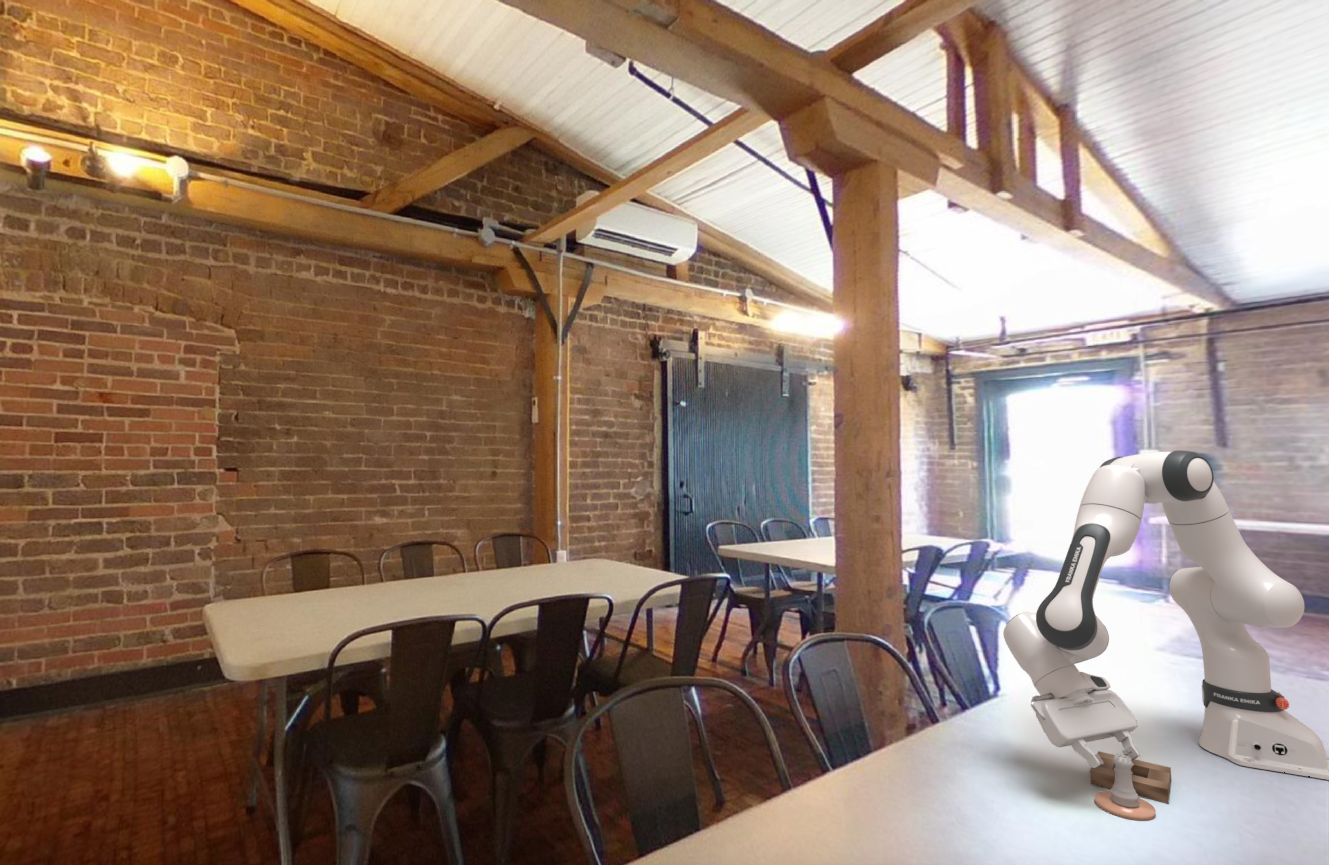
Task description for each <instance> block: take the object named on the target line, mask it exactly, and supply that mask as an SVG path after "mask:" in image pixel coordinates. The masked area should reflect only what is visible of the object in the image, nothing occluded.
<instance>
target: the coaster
mask: <svg viewBox="0 0 1329 865" xmlns="http://www.w3.org/2000/svg"><path fill="white" fill-rule="evenodd" d="M1111 795H1112V794H1111V793H1110V790H1108V791H1107V790H1106V791H1103V790H1102V791H1098V792H1097V793H1095V794H1094V803H1095V805H1096V804H1097V805H1096V806H1097V807H1098V806H1099V807H1098V808H1099V809H1101V808H1102V809H1101V810H1103V811H1104V810H1105V812H1106V813H1108V812H1109V813H1108V814H1111V815H1112V816H1116V817H1120V818H1123V819H1127V820H1131V821H1141V822H1143V821H1151V820H1154V819H1155V818H1156V816H1157V813H1156V812H1157V811H1156V807H1154V806H1153V805H1152V803H1150V802H1149V801H1146V800H1145V799H1143V798H1140V797H1139V799H1138V801H1139V803H1140V804H1139V805H1138V806H1137V807H1136V808H1128V807H1123V806H1120V805H1117V804H1115V803H1114V802H1113V801H1112V800H1111V798H1110V796H1111Z"/></svg>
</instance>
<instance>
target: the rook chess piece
mask: <svg viewBox="0 0 1329 865" xmlns="http://www.w3.org/2000/svg"><path fill="white" fill-rule="evenodd" d="M1113 755H1114V758H1113V759H1112V762H1113V763H1114V764H1115V768H1114V771H1115V782H1114V785H1113V788H1111V789H1110V790H1109V791H1110V793H1111V794H1112V795H1111V796H1110V798H1111V800H1112V801H1113V802H1114V803H1115V804H1117V805H1120V806H1123V807H1128V808H1136V807H1137V806H1138V805H1139V804H1140V803H1139V801H1138V799H1139V798H1140V796H1138V794H1137V793H1136V791H1135V789H1134V787H1133V783H1132V776H1131V774H1132V771H1131V767H1132V766H1133V765H1134V764H1133V763H1132V761H1131V758H1129V756H1125V755H1124V754H1123V753H1122V754H1121V753H1120V754H1117V753H1115V754H1113ZM1118 756H1120V757H1118ZM1124 757H1125V758H1124Z"/></svg>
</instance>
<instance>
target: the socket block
mask: <svg viewBox="0 0 1329 865" xmlns="http://www.w3.org/2000/svg"><path fill="white" fill-rule="evenodd" d="M1096 754H1098V755H1099V756H1100V757H1101V759H1102V760H1103V762H1104V764H1103V765H1102V766H1100V767H1097V768H1092V767H1091V766H1090V770H1089V771H1090V772H1089V777H1090V778H1089V779H1090V784H1091V785H1094V786H1097V785H1100V786H1099V787H1101V786H1103V787H1102V788H1105V789H1109V788H1110V789H1111V788H1113V785H1114V782H1115V771H1114V768H1115V764H1114V763H1113V762H1112V759H1113V758H1114V755H1115V754H1113V753H1107V752H1104V751H1097V753H1096ZM1118 757H1120V755H1118ZM1123 757H1124V758H1125V756H1123ZM1131 761H1132V763H1133V764H1134V765H1133V766H1132V767H1131V771H1132V774H1131V776H1132V783H1133V787H1134V789H1135V791H1136V793H1137V794H1138V797H1139V798H1140V797H1141V798H1144V799H1148V800H1154V801H1157V802H1161V803H1164V804H1169V802H1170V793H1171V787H1172V786H1171V785H1172V767H1171V766H1167V765H1161V764H1158V763H1152V762H1148V761H1143V760H1139V759H1134V760H1131Z"/></svg>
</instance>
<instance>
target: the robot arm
mask: <svg viewBox="0 0 1329 865" xmlns="http://www.w3.org/2000/svg"><path fill="white" fill-rule="evenodd" d="M1213 470H1214V469H1213V468H1212V466H1211V464H1210V463H1209V461H1208V459H1206V458H1205V457H1203V455H1201V454H1200V453H1198V452H1196V451H1195V452H1194V451H1191V450H1190V451H1189V450H1178V449H1177V450H1173V451H1147V452H1143V453H1138V454H1132V455H1127V456H1116V457H1113V458H1109V459H1108V460H1106V461H1104V462H1103V463H1102V464H1101V465H1100V466H1099V467H1098V468H1097V469H1096V470H1095V471H1094V473H1093V474H1092V476H1091V478H1090V480H1089V481H1088V484H1087V486H1086V487H1085V490H1084V492H1083V495H1082V498H1081V501H1080V505H1079V508H1078V511H1077V514H1076V519H1075V524H1074V530H1073V534H1072V538H1071V542H1070V544H1069V546H1068V549H1067V553H1066V556H1065V558H1064V561H1063V564H1062V566H1061V570H1060V573H1059V575H1058V578H1057V581H1056V584H1055V586H1054V587H1053V589H1052V590H1051V591H1050V592H1049V594H1048V595H1047V596H1046V597H1045V598H1044V599H1043V600H1042V601H1041V603H1040V604H1039V606H1038V607H1037V610H1036V612H1029V611H1023V612H1021V613H1018V614H1016V615H1015V616H1013V617H1012V618H1011V619H1010V620H1009V621H1008V622H1007V623H1006V625H1005V627H1004V629H1003V633H1002V634H1003V638H1004V641H1005V644H1006V645H1007V648H1008V649H1009V651H1010V653H1011V655H1012V657H1013V658H1014V659H1015V661H1016V662H1017V664H1018V665H1019V666H1020V668H1021V669H1022V670H1023V671H1024V672H1025V673H1026V674H1027V675H1028V676H1029V678H1030V679H1031V682H1032V685H1033V686H1034V688H1035V689H1036V692H1038V694H1039V695H1034V696H1032V698H1031V701H1030V706H1031V709H1032V710H1033V711H1034V712H1035V716H1036V719H1037V722H1038V723H1039V725H1040V726H1041V729H1042V731H1043V732H1044V734H1045V735H1046V737H1047V739H1048V741H1049V742H1050V743H1051V744H1052V745H1054V746H1055V747H1056V748H1063V747H1067V746H1069V747H1070V746H1071V748H1072V749H1073V750H1074V752H1075V753H1076V754H1078V755H1079V756H1081V757H1082V758H1083V759H1084V760H1086V762H1088V764H1089V765H1090V768H1091V767H1092V768H1097V767H1100V766H1102V765H1103V764H1104V762H1103V760H1102V759H1101V757H1100V756H1099V755H1098V754H1097V753H1094V752H1093V751H1092V750H1091V749H1090V748H1088V746H1087V745H1088V744H1087V743H1089V742H1094V741H1098V740H1104V739H1105V740H1106V739H1111V738H1115V739H1116V741H1117V742H1118V743H1121V745H1122V748H1123V750H1122V751H1121V752H1122V755H1123V756H1124V757H1125V756H1129V758H1131V760H1134V759H1135V760H1138V758H1139V757H1140V753H1139V752H1138V750H1137V749H1136V748H1135V745H1134V740H1133V738H1132V735H1131V732H1133V731H1135V730H1136V729H1137V728H1138V726H1139V725H1138V720H1137V718H1136V716H1135V715H1134V714H1133V712H1132V711H1131V710H1130V709H1129V707H1128V706H1127V705H1126V703H1125V702H1124V701H1123V700H1122V698H1121V697H1120V696H1119V695H1118V694H1117V693H1116V692H1115V691H1113V690H1110V688H1111V684H1110V683H1109V681H1108V680H1107V679H1106V678H1104V677H1102V676H1098V675H1093V674H1090V673H1087V672H1083V671H1080V670H1079V669H1078V668H1077V666H1076V664H1079V663H1082V662H1086V661H1088V660H1092V659H1094V658H1097V657H1099V656H1100V655H1102V654H1103V653H1105V651H1106V650H1107V648H1108V646H1109V642H1110V635H1109V631H1108V630H1107V627H1106V625H1105V624H1104V623H1103V622H1102V621H1101V619H1100V618H1099V617H1098V616H1097V615H1096V613H1095V607H1094V600H1093V599H1094V597H1095V593H1096V589H1097V586H1098V583H1099V580H1100V577H1101V574H1102V571H1103V568H1104V565H1105V563H1106V562H1107V561H1108V559H1110V558H1112V557H1117V556H1121V555H1124V554H1126V553H1127V552H1128V551H1130V549H1131V548H1132V546H1133V544H1134V543H1135V540H1136V539H1137V536H1138V535H1139V530H1140V526H1141V524H1142V523H1141V522H1142V519H1143V514H1144V509H1145V508H1144V507H1145V504H1160V503H1161V505H1162V508H1163V511H1164V515H1165V517H1166V519H1167V521H1168V523H1169V524H1168V525H1169V527H1170V528H1171V531H1172V533H1173V536H1174V538H1175V540H1176V543H1177V545H1178V548H1179V550H1180V552H1181V553H1182V554H1183V555H1184V556H1185V557H1186V558H1187V559H1189V560H1190V561H1192V562H1193V563H1195V564H1197V565H1198V566H1195V567H1194V566H1193V567H1183V568H1180V569H1177V571H1176V572H1174V574H1173V575H1172V576H1171V579H1170V581H1169V587H1168V588H1169V593H1170V596H1171V598H1172V600H1173V601H1174V603H1175V604H1177V606H1179V607H1180V608H1181V609H1182V610H1183V612H1184V613H1186V615H1187V617H1188V618H1189V620H1190V622H1191V624H1192V625H1193V627H1194V629H1195V631H1196V634H1197V637H1198V639H1199V642H1200V646H1201V652H1202V653H1201V654H1202V662H1203V676H1204V678H1203V680H1202V682H1201V683H1202V684H1201V697H1202V699H1201V700H1202V703H1203V706H1204V714H1203V715H1204V716H1203V721H1202V722H1203V724H1202V729H1201V733H1200V737H1199V740H1198V745H1199V746H1200V747H1202V748H1203V749H1205V750H1206V751H1207V752H1210V753H1212V754H1215V755H1216V756H1219V757H1222V758H1225V759H1227V760H1229V761H1230V762H1232V763H1234V764H1236V765H1239V766H1243V767H1248V768H1253V769H1254V768H1255V769H1260V770H1266V771H1273V772H1279V773H1284V772H1285V774H1290V775H1296V776H1304V777H1308V776H1310V778H1314V779H1322V780H1326V781H1329V756H1328V755H1327V753H1326V749H1325V746H1324V744H1323V742H1322V740H1321V738H1320V737H1319V735H1318V734H1317V733H1316V732H1315V731H1314V730H1312V729H1311V728H1310V727H1308V726H1307V725H1306V724H1304V723H1303V722H1302V721H1300V720H1299V719H1298V718H1297V717H1295V716H1294V715H1293V714H1291V713H1289V712H1288V711H1286V710H1288V708H1290V703H1289V701H1288V699H1286V697H1285V696H1283V695H1282V694H1281V693H1280V691H1278V692H1277V691H1275V690H1274V689H1272V680H1271V679H1272V678H1271V665H1270V664H1271V663H1270V656H1269V653H1268V652H1267V651H1266V649H1265V647H1263V646H1262V645H1261V644H1260V643H1259V642H1257V641H1256V640H1255V639H1254V638H1253V637H1252V635H1250V633H1249V631H1248V629H1247V628H1246V626H1245V625H1248V626H1254V627H1258V628H1271V629H1273V628H1275V629H1278V628H1279V629H1285V628H1291V627H1292V626H1295V625H1296V624H1297V623H1299V622H1300V620H1301V618H1302V617H1303V615H1304V613H1305V600H1304V597H1303V594H1301V592H1300V590H1299V589H1298V588H1297V587H1296V586H1295V585H1294V584H1292V583H1290V582H1288V581H1287V580H1285V579H1283V578H1282V577H1280V576H1279V575H1277V574H1276V573H1275V572H1274V571H1272V570H1271V569H1270V568H1268V567H1267V565H1265V564H1264V563H1263V561H1261V559H1259V558H1258V557H1257V556H1256V555H1255V553H1254V552H1253V550H1251V549H1250V547H1249V546H1248V545H1247V544H1246V542H1245V540H1244V538H1243V536H1242V534H1241V533H1240V530H1239V528H1238V527H1237V524H1236V522H1235V520H1234V517H1233V516H1232V513H1231V510H1230V508H1229V506H1228V504H1227V501H1226V500H1225V497H1224V495H1223V494H1222V491H1221V490H1220V489H1219V487H1218V486H1217V484H1216V482H1215V480H1214V477H1215V476H1214V471H1213Z"/></svg>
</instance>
